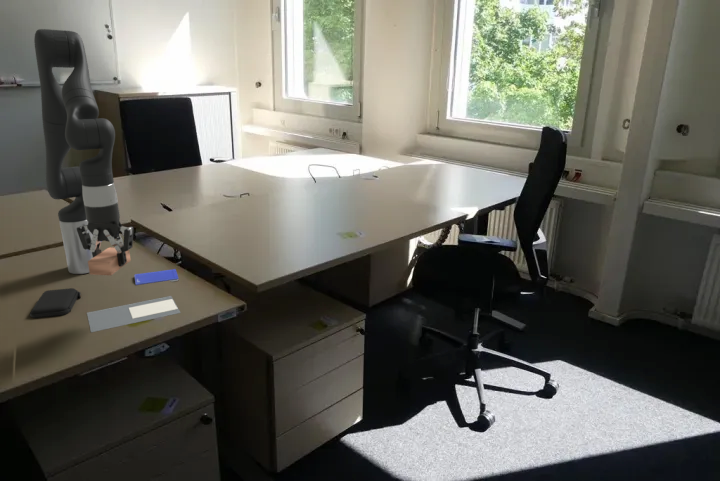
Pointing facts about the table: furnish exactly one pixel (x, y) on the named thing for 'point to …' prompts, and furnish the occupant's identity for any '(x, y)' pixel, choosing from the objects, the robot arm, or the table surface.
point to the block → (106, 262)
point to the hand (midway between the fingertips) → (110, 264)
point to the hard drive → (156, 277)
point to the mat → (131, 313)
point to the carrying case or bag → (55, 303)
